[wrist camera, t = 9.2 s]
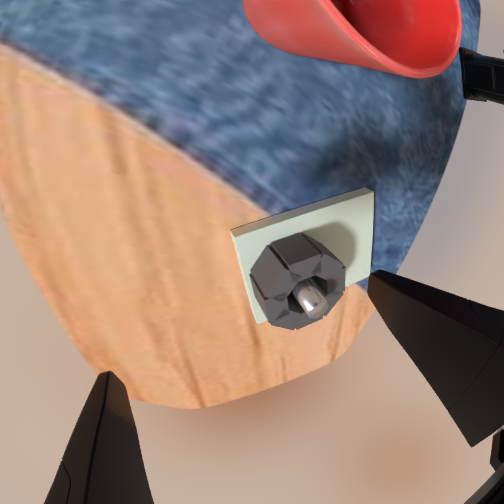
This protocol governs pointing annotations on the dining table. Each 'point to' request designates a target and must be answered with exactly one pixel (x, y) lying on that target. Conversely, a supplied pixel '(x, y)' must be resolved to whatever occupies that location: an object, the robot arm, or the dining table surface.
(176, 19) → the dining table surface
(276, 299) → the grey octagonal ring
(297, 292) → the grey metallic cylinder
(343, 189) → the dining table surface
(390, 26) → the flower pot
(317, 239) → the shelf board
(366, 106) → the dining table surface
